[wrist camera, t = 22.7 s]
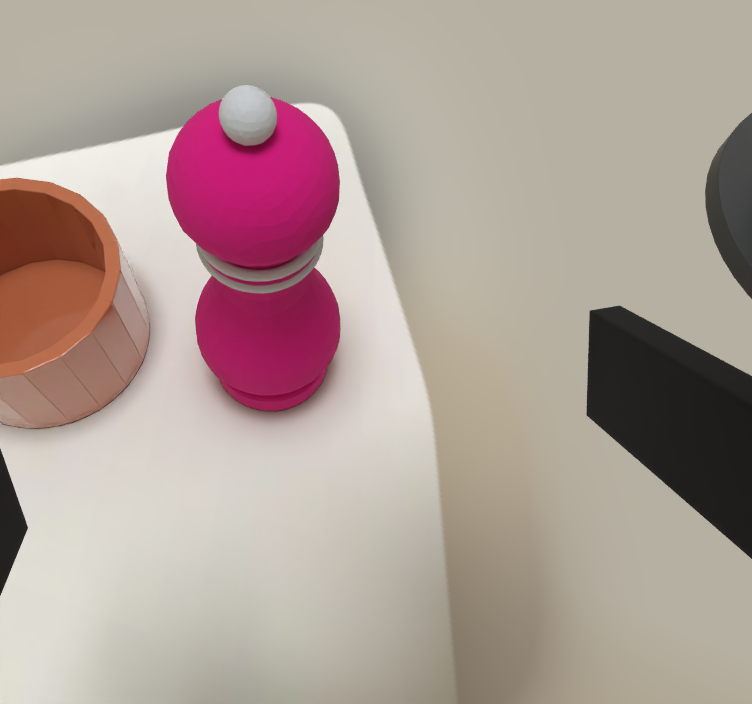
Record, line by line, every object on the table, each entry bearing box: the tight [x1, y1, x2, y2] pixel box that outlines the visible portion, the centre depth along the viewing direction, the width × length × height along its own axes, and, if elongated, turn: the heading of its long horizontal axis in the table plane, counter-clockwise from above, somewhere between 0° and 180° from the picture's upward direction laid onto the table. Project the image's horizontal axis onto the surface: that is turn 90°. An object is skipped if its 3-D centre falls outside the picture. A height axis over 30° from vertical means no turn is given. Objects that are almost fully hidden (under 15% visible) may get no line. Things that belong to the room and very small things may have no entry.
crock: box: [0, 178, 150, 428], centre depth 34 cm, size 11×11×7 cm
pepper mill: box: [166, 85, 340, 411], centre depth 29 cm, size 7×7×20 cm
